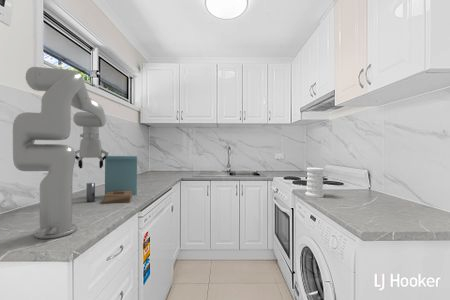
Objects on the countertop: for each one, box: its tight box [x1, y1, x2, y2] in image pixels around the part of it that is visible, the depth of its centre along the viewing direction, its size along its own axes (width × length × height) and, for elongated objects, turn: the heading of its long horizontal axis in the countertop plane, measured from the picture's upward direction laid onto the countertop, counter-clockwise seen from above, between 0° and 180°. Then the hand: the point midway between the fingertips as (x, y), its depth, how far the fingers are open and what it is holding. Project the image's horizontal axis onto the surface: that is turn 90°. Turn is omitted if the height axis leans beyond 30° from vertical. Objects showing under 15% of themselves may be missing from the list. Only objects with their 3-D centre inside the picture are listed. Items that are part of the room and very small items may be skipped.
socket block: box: [103, 190, 133, 205], centre depth 133 cm, size 13×13×4 cm
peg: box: [85, 182, 96, 203], centre depth 128 cm, size 4×4×10 cm
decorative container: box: [304, 167, 325, 198], centre depth 156 cm, size 12×12×18 cm
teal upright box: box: [102, 155, 138, 196], centre depth 142 cm, size 8×18×24 cm, turn 108°
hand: (90, 167), depth 128 cm, fingers open, 9 cm apart
